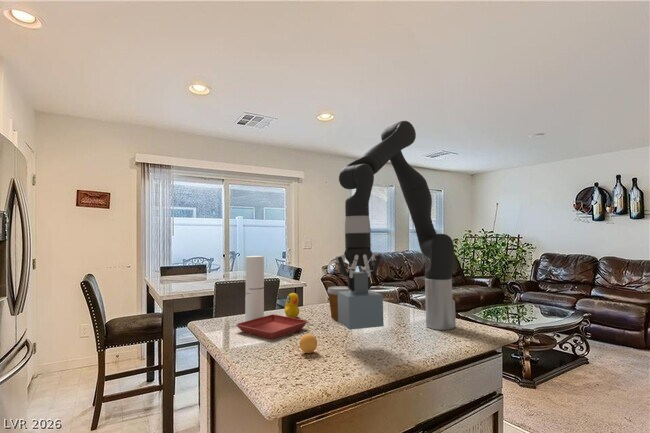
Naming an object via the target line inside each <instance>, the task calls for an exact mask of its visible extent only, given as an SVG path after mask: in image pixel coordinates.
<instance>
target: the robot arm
mask: <svg viewBox="0 0 650 433" xmlns="http://www.w3.org/2000/svg"><path fill="white" fill-rule="evenodd" d="M416 137H417V134H416V130H415V127H414V125H413V124H412V123H411V122H410V121H407V120H402V121H397V122H396V123H394V124H392V125H390V126H388V127H386V128H384V129H383V130H382V131H381V134H380V138H381V141H380V142H379V143H377V144H375V145H374V146H373V147H371V148H370V149H368V150H367V151H366V152H365V153H364V154H363V155H362V156H361V157H359V158H356V159H355V160H353V161H352V162H350V163H348V164H346V165H345V166H344V167H343V168H342V169H341V170H340V171H339V174H338V183H339V184H340V186H341V187H342V188H343V189H345V190H355V192H354V194H352V195H351V196H350V197H347V198H346V199H345V201H344V203H345V204H344V205H345V206H344V207H345V208H344V210H345V211H344V212H345V216H344V217H345V220H344V242H345V243H344V244H345V249H344V250H345V251H344V253H343V254H342V255H336V257H335V261H336V264H337V267H338V269H339V272H340V275H341V276H344V277H346V278H347V279H346V280H347V287H348V289H350V291H354V278H353V275H354V272H356V267H361V269H362V272H366V273H368V290H370V288H371V287H372V286H371V284H372V283H371V277H372V276H373V275H374V276H375V275H376V274H377V272H378V268H379V264H380V262H381V257H382V256H381V255H380V254H376V253H375V254H374V253H373V251H372V249H371V248H372V247H371V246H372V244H371V243H372V242H371V241H372V240H371V239H372V238H371V230H372V229H371V221H370V208H369V207H370V206H369V205H370V200H371V199H370V198H371V194H372V189H373V186H374V181H375V179H374V178H375V175H376V174H377V173H378V172H379V171H380V170H382V169H383V167H384V166H385V165H386V164H387V163H389V161H390V163H391V165H392V168H393V171H394V172H395V175H396V178H397V181H398V183H399V185H400V189H401V192H402V196H403V197H404V201H405V204H406V206H407V208H408V210H409V214H410V217H411V220H412V223H413V226H414V230H415V234H416V237H417V242H418V245H419V248H420V251H421V253H422V255H423V256H424V257H425V258H428V259H430V265H429V267H428V268H426V269H425V270H424V291H425V293H424V294H425V296H424V298H425V327H427V328H428V329H433V330H439V331H440V330H441V331H446V330H447V331H448V330H451V329H452V330H453V329H455V328H456V326H457V325H456V301H455V300H454V299H453V272H454V270H455V269H454V268H455V246H454V245H455V244H454V241H453V240H452V238H451V237H450V236H449V235H448V234H446V233H437V231H436V229H435V227H434V223H433V220H432V206H433V199H432V198H433V197H432V194H431V191H430V189H429V185H428V182H427V180H426V178H425V177H424V176H423V175H422V174H421V173H420V172H418V171H417V169H415V168H414V167H412V166H411V165H410V164H409V163H408V161H407V160H406V158H405V157H404V154H403V152H402V150H404V149H405V148H408V147H410V146H411V145H413V144H414V142H415V141H416ZM345 260H346V261H347V262H348V265H347V269H346V265H345ZM370 260H371V261H372V262H371V265H370V264H369V261H370Z"/></svg>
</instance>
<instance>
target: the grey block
mask: <svg viewBox="0 0 650 433" xmlns="http://www.w3.org/2000/svg"><path fill="white" fill-rule="evenodd" d="M353 278H354V291H341V292H338V320H337V321H338V322H339V323H340V324H341V325H343V326H344V327H345V328H347V329H348V330H359V329H360V330H361V329H369V328H371V329H372V328H379V327H382V328H383V327H385V326H384V297H383V294H381V293H379V292H376V291H373V290H372V289H371V290H370V289H369V290H368V273H366V272H363V271H354V275H353Z"/></svg>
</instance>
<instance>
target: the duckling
mask: <svg viewBox="0 0 650 433" xmlns="http://www.w3.org/2000/svg"><path fill="white" fill-rule="evenodd" d="M299 301H300V298H299V295H298V294H297V293H295V292H291V293H289V294H287V297H286V302H285V306H284V314H285V317H291V318H296V319H297V318H298V316H299V315H300V308H299V305H298V304H299Z"/></svg>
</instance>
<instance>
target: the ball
mask: <svg viewBox="0 0 650 433" xmlns="http://www.w3.org/2000/svg"><path fill="white" fill-rule="evenodd" d="M317 347H318V340H317V338H316V337H315V336H314V335H313V334H310V333H309V334H307V333H306V334H304V335H303V336H302V337H301V338H300V340H299V348H300V350H301V351H302V352H303V353H306V354H311V353H314V352H315V350H316V349H317Z"/></svg>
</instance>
